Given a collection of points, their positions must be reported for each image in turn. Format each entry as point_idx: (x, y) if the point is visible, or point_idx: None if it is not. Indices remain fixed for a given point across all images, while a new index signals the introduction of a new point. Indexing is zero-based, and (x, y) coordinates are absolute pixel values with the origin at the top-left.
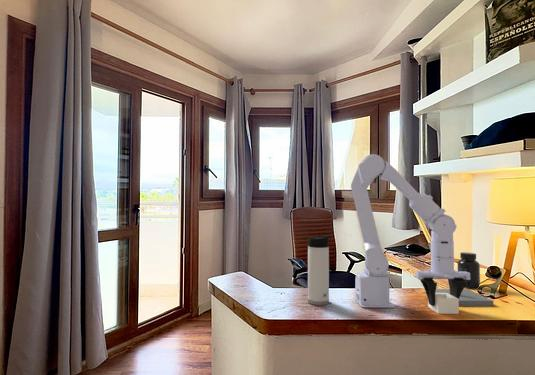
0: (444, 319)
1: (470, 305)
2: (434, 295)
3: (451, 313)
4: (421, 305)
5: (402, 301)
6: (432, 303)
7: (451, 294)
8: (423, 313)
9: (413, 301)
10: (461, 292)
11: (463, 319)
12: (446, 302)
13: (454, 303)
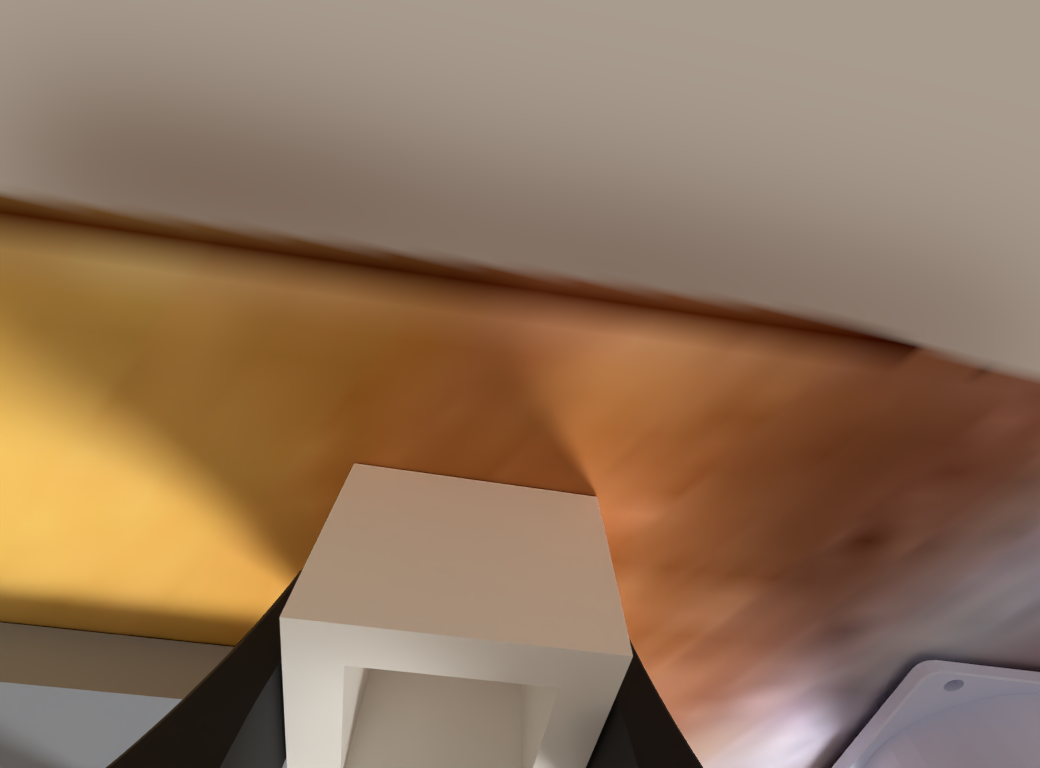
0: (680, 333)
1: (64, 630)
2: (639, 734)
3: (443, 477)
4: None
5: None
6: None
7: (277, 756)
8: (758, 519)
9: None
10: (126, 751)
11: (427, 297)
12: (497, 589)
13: (375, 563)
